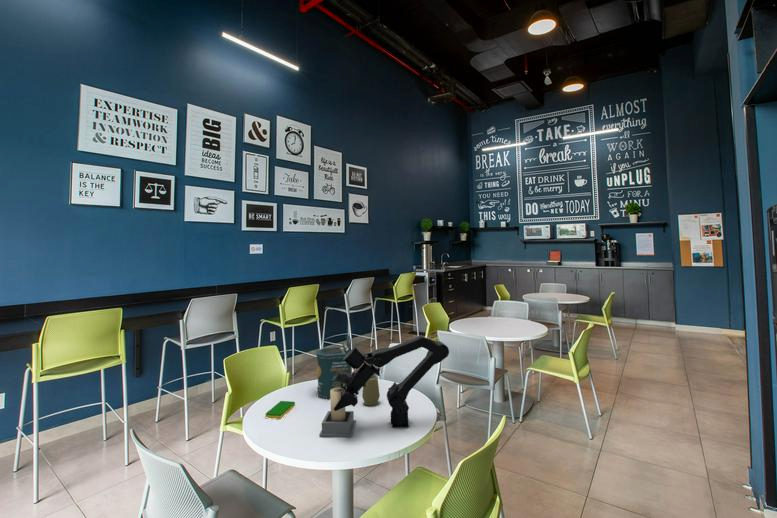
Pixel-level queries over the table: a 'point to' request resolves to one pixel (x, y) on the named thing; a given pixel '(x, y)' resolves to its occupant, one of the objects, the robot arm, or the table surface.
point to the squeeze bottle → (371, 391)
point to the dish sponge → (280, 409)
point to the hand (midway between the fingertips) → (334, 406)
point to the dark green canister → (331, 367)
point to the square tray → (338, 426)
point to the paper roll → (335, 397)
